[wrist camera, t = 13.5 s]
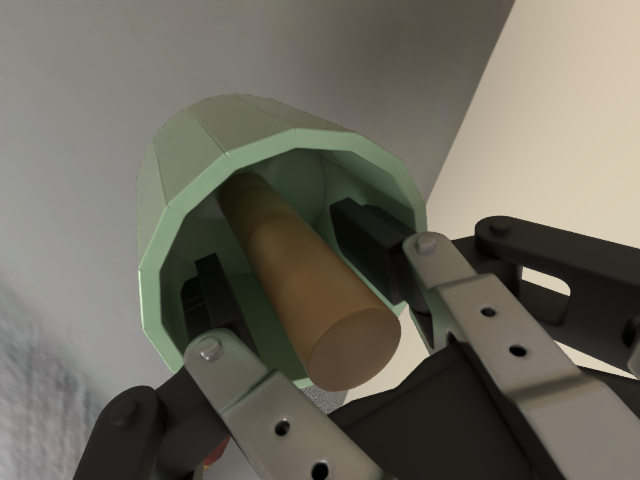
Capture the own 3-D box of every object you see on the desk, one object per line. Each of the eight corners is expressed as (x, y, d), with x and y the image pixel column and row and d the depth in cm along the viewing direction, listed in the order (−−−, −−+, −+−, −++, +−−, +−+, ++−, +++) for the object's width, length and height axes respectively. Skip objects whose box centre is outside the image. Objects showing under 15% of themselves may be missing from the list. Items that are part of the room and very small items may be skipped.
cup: (188, 303, 19) (217, 438, 12) (92, 133, 14) (58, 210, 8) (341, 235, 21) (433, 320, 15) (305, 67, 16) (419, 83, 10)
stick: (229, 231, 17) (320, 408, 9) (210, 183, 16) (295, 340, 8) (278, 211, 18) (406, 360, 10) (263, 164, 17) (396, 289, 8)
